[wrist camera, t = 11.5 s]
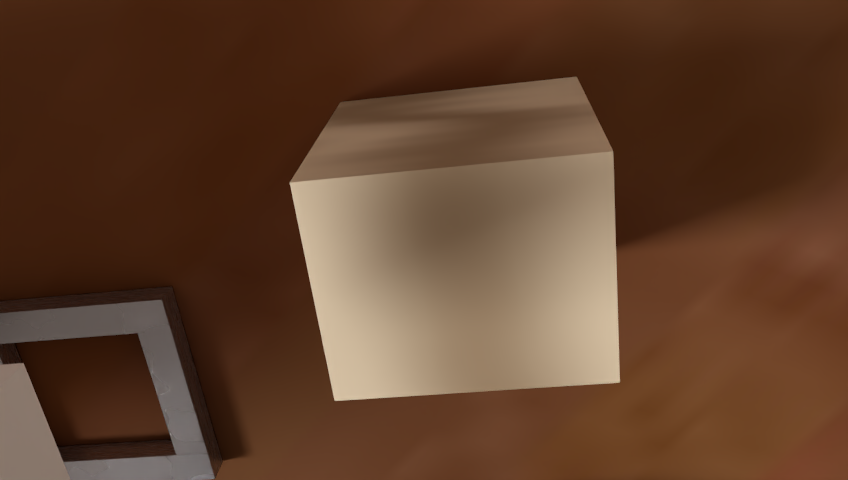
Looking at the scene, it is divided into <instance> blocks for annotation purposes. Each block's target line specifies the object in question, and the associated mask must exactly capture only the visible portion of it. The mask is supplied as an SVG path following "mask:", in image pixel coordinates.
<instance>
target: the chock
mask: <svg viewBox="0 0 848 480" xmlns="http://www.w3.org/2000/svg"><path fill="white" fill-rule="evenodd" d="M290 187H291V192H292V197H293V201H294V206H295V211H296V216H297V221H298V226H299V231H300V235H301V240H302V245H303V250H304V255H305V260H306V265H307V269H308V274H309V279H310V284H311V289H312V294H313V298H314V303H315V308H316V313H317V318H318V323H319V328H320V332H321V337H322V342H323V347H324V352H325V357H326V361H327V366H328V371H329V376H330V381H331V386H332V391H333V395H334V400H335V401H342V400H357V399H373V398H388V397H404V396H419V395H435V394H450V393H466V392H481V391H496V390H512V389H527V388H543V387H558V386H574V385H589V384H604V383H620V374H619V338H618V302H617V266H616V230H615V194H614V158H613V150H612V148H611V146H610V144H609V141H608V139H607V137H606V135H605V133H604V131H603V129H602V127H601V125H600V123H599V121H598V119H597V117H596V115H595V113H594V111H593V109H592V107H591V105H590V103H589V101H588V99H587V97H586V94H585V92H584V90H583V88H582V86H581V84H580V82H579V80H578V78H577V77H568V78H559V79H550V80H540V81H531V82H522V83H513V84H503V85H494V86H485V87H475V88H466V89H457V90H448V91H438V92H429V93H420V94H410V95H401V96H392V97H383V98H373V99H364V100H355V101H345V102H340V104H339V105H338V107H337V108H336V110H335V112H334V113H333V115H332V116H331V118H330V119H329V121H328V123H327V124H326V126H325V127H324V129H323V131H322V132H321V134H320V135H319V137H318V138H317V140H316V142H315V143H314V145H313V146H312V148H311V150H310V151H309V153H308V154H307V156H306V157H305V159H304V161H303V162H302V164H301V165H300V167H299V169H298V170H297V172H296V173H295V175H294V176H293V178H292V180H291V181H290Z"/></svg>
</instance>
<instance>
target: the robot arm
mask: <svg viewBox="0 0 848 480" xmlns="http://www.w3.org/2000/svg"><path fill="white" fill-rule="evenodd" d="M0 480H70V477H69V475H68V472H67V470H66V467H65V465H64V462H63V460H62V457H61V455H60V452H59V450H58V448H57V445H56V443H55V440H54V438H53V435H52V433H51V430H50V428H49V425H48V423H47V420H46V418H45V415H44V413H43V410H42V408H41V405H40V403H39V400H38V398H37V395H36V393H35V390H34V388H33V385H32V383H31V380H30V378H29V375H28V373H27V370H26V368H25V366H24V363H18V364H4V365H0Z"/></svg>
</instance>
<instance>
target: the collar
mask: <svg viewBox="0 0 848 480" xmlns="http://www.w3.org/2000/svg"><path fill="white" fill-rule="evenodd" d="M133 333H138V336H139V339H140V342H141V346H142V349H143V352H144V355H145V358H146V361H147V364H148V368H149V371H150V374H151V377H152V380H153V383H154V387H155V390H156V393H157V396H158V399H159V402H160V405H161V409H162V412H163V415H164V418H165V421H166V424H167V427H168V431H169V434H170V437H171V440H156V441H140V442H124V443H108V444H92V445H76V446H61V447H57V448H58V450H59V452H60V455H61V457H62V460H63V462H64V465H65V467H66V470H67V472H68V475H69V477H70V480H204V479H215V478H216V475H217V473H218V471H219V469H220V466H221V464H222V462H223V461H222V458H221V455H220V451H219V448H218V444H217V441H216V437H215V434H214V430H213V427H212V423H211V420H210V417H209V413H208V410H207V406H206V403H205V399H204V396H203V392H202V389H201V385H200V382H199V379H198V375H197V372H196V368H195V365H194V361H193V358H192V354H191V351H190V347H189V344H188V340H187V337H186V334H185V330H184V327H183V323H182V320H181V316H180V313H179V309H178V306H177V302H176V299H175V296H174V292H173V289H172V286H171V287H159V288H147V289H136V290H124V291H112V292H101V293H89V294H77V295H66V296H54V297H42V298H30V299H19V300H7V301H0V365H4V364H18V363H22V360H21V358H20V355H19V353H18V350H17V348H16V345H15V343H19V342H31V341H44V340H57V339H69V338H82V337H95V336H107V335H120V334H133Z"/></svg>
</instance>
